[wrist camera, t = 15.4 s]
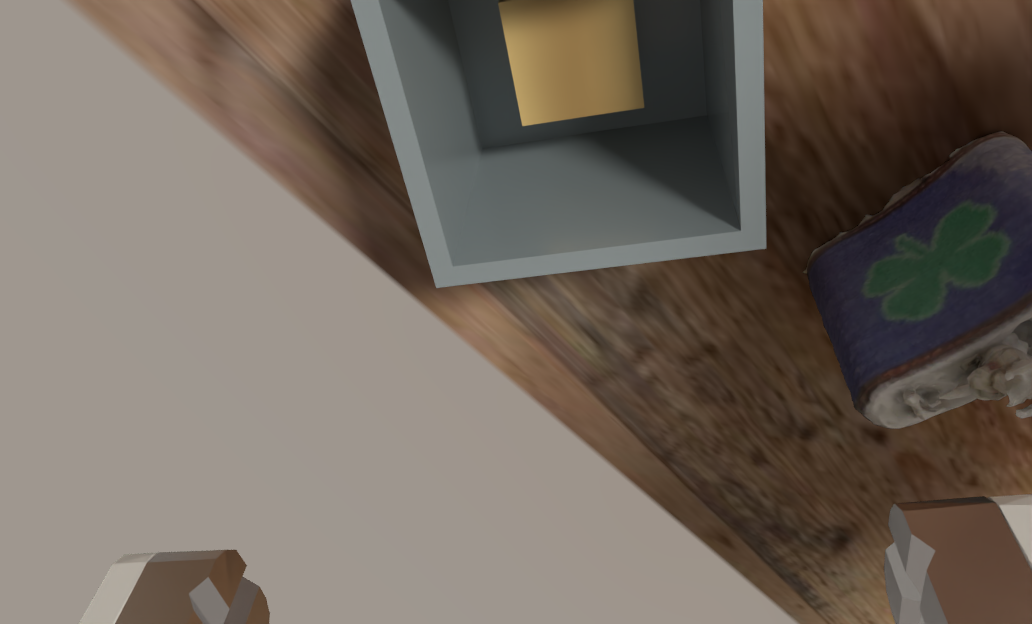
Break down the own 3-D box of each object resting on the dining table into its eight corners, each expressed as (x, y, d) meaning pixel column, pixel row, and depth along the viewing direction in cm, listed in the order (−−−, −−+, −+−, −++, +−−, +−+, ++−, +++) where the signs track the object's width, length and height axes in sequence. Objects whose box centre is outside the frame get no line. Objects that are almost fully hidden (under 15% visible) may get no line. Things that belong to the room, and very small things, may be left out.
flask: (1001, 115, 30) (1169, 277, 21) (1040, 167, 31) (1215, 342, 22) (789, 262, 34) (857, 446, 26) (830, 303, 35) (908, 493, 27)
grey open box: (711, -176, 25) (761, -134, 18) (724, 124, 31) (766, 248, 24) (404, -112, 27) (335, -50, 20) (470, 161, 33) (436, 287, 25)
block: (626, -52, 27) (631, -22, 24) (638, 65, 29) (644, 107, 26) (508, -31, 28) (498, 2, 24) (529, 82, 30) (522, 125, 27)
